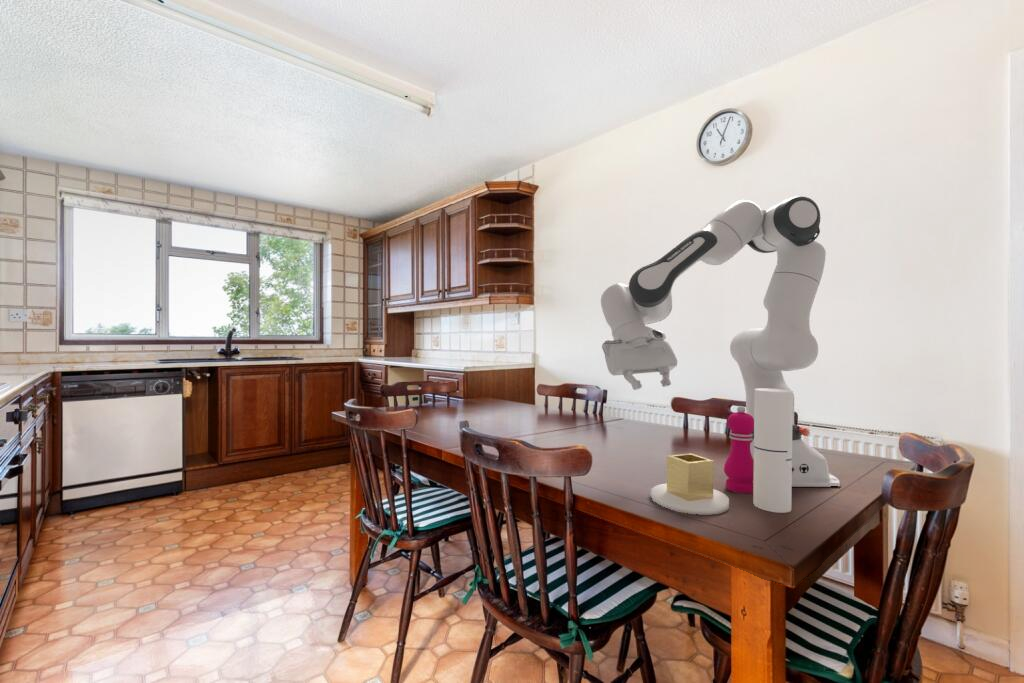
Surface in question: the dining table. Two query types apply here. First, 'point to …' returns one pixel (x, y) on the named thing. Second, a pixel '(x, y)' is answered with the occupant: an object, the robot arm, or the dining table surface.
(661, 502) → the plate
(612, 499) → the dining table surface
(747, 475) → the pepper mill
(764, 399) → the cylindrical container
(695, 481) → the yellow square cup
